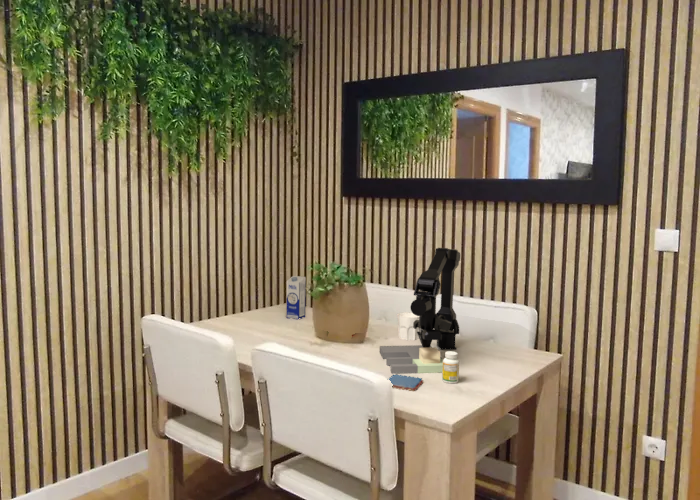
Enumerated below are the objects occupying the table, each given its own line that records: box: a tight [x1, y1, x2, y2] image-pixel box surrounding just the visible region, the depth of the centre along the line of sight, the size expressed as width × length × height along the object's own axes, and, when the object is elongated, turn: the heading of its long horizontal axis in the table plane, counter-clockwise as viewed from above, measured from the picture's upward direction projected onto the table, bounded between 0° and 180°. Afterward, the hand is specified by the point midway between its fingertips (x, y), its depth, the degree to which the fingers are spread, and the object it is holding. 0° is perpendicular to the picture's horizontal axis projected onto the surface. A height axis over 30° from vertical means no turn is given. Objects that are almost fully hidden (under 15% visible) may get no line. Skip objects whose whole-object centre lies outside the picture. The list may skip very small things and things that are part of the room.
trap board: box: [379, 344, 444, 375], centre depth 212 cm, size 20×26×2 cm
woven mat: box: [388, 374, 424, 392], centre depth 187 cm, size 10×11×2 cm
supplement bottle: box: [441, 350, 460, 385], centre depth 191 cm, size 5×5×10 cm
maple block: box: [419, 346, 441, 364], centre depth 205 cm, size 6×6×4 cm
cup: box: [396, 311, 420, 341], centre depth 246 cm, size 10×10×10 cm
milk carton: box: [286, 275, 307, 320], centre depth 280 cm, size 7×7×20 cm
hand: (426, 352), depth 209 cm, fingers closed
